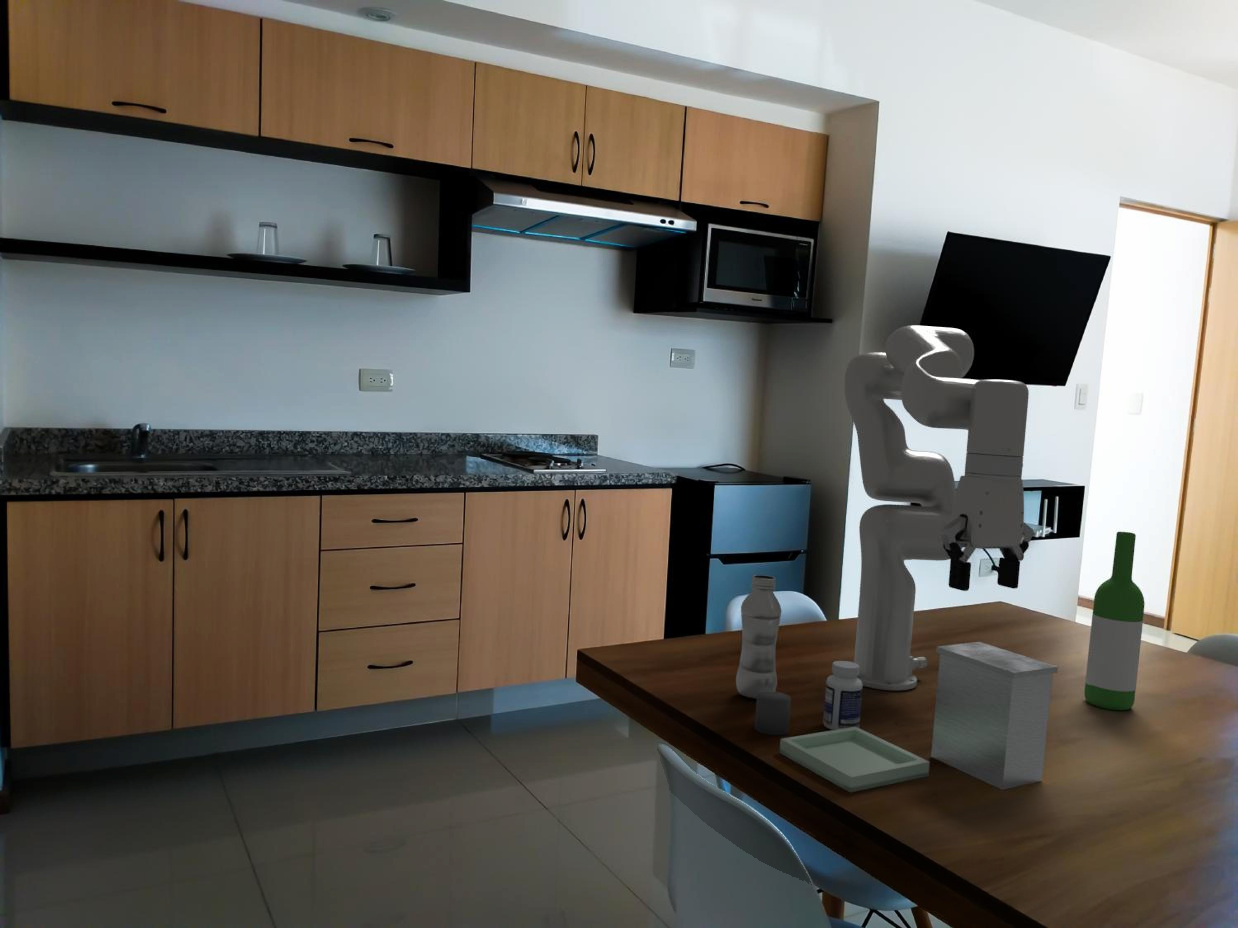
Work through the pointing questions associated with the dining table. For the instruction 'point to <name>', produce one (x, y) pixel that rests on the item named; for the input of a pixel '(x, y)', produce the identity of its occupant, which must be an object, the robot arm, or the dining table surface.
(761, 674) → the plastic bottle
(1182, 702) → the dining table surface
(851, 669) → the pill bottle
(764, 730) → the stopper
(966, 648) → the metal box
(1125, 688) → the wine bottle
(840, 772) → the tray
